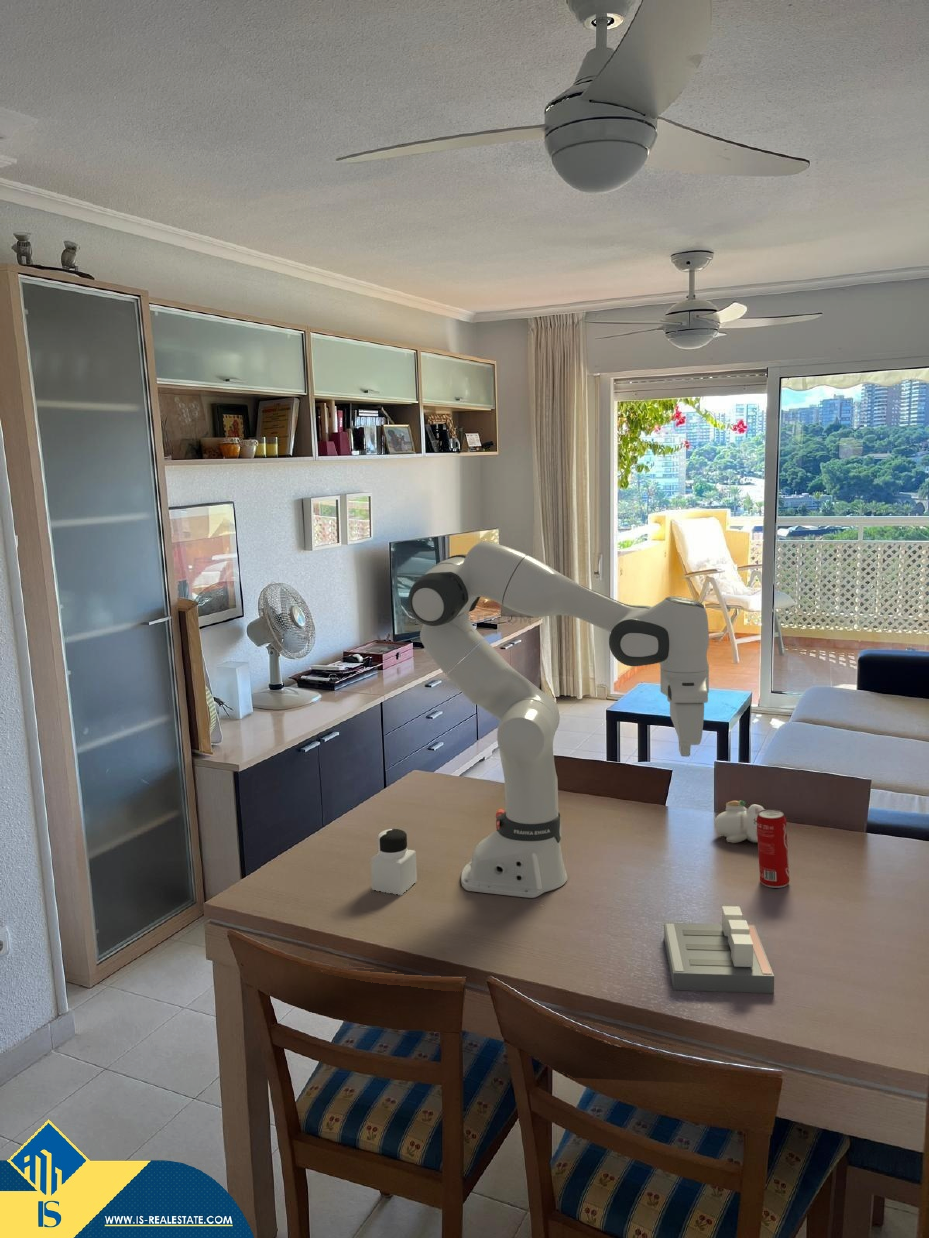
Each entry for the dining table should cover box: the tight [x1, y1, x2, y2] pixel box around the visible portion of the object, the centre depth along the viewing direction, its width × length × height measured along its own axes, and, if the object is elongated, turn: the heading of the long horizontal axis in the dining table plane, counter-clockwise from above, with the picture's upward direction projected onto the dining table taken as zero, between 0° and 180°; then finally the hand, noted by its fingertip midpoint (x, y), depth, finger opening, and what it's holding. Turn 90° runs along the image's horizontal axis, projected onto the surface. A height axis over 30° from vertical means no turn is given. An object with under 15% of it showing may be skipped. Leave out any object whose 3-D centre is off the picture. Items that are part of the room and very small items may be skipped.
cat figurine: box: [713, 800, 766, 844], centre depth 209 cm, size 10×8×15 cm
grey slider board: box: [663, 922, 775, 994], centre depth 157 cm, size 16×17×3 cm
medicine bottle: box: [370, 828, 418, 896], centre depth 191 cm, size 7×7×12 cm
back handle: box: [721, 905, 744, 936], centre depth 161 cm, size 3×3×4 cm
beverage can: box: [756, 808, 790, 889], centre depth 186 cm, size 6×6×15 cm
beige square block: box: [728, 919, 750, 949], centre depth 156 cm, size 3×3×4 cm
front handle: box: [731, 934, 753, 967], centre depth 151 cm, size 3×3×4 cm
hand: (684, 754), depth 173 cm, fingers closed
